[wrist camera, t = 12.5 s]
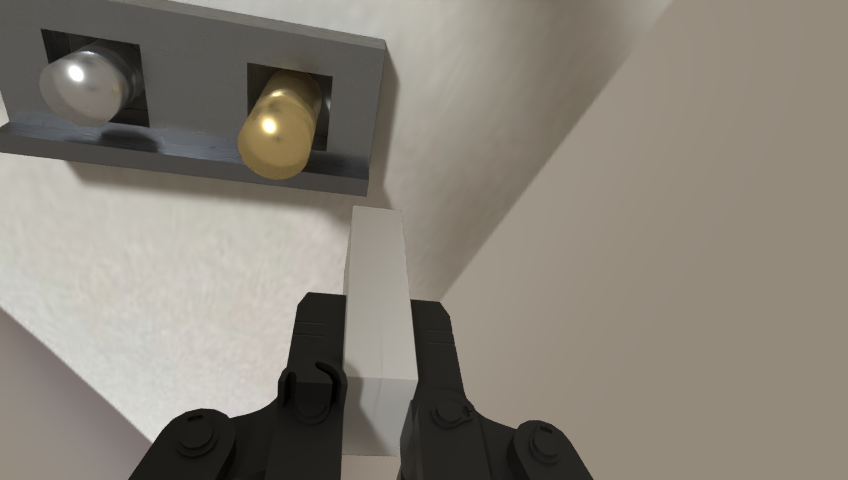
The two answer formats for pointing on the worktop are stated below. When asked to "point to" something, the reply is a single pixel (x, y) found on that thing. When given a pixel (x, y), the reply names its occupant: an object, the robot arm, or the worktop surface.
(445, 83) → the worktop surface
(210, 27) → the jig
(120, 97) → the silver metal cylinder
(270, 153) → the gold metal cylinder
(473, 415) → the robot arm
